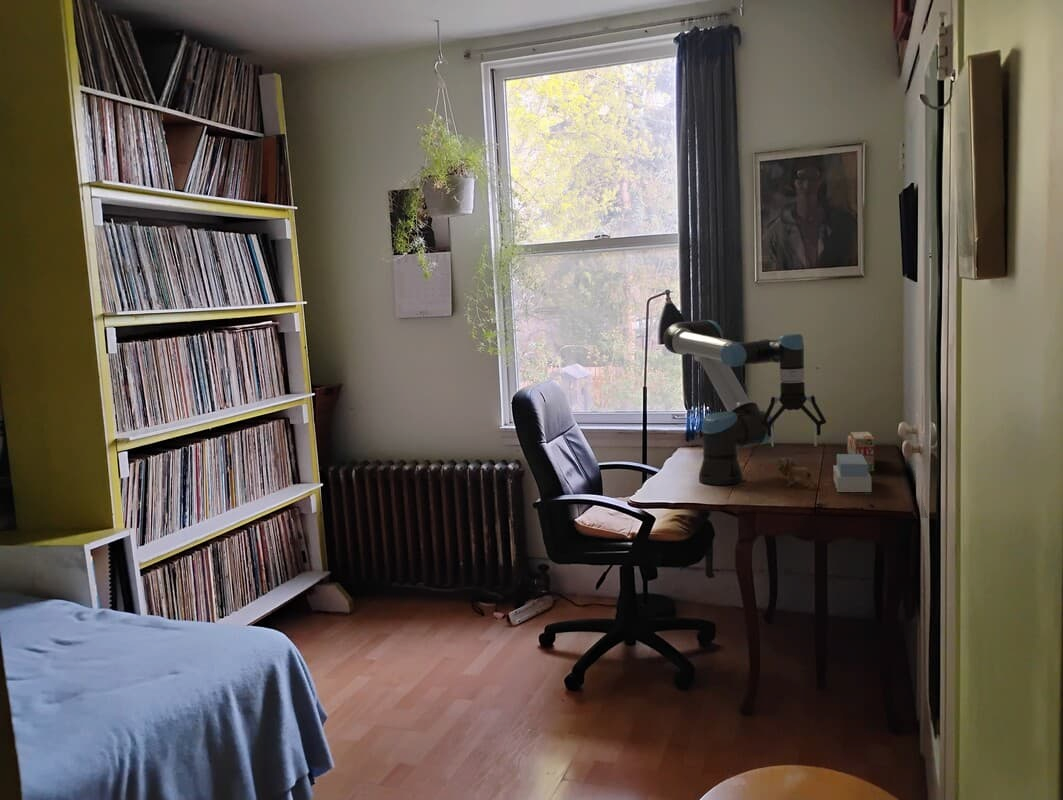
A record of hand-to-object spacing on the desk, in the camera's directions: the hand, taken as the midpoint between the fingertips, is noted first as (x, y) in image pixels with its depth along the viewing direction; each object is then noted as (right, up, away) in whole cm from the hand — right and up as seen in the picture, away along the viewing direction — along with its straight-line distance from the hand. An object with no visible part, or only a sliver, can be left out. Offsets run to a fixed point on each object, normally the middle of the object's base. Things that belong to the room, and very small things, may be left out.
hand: (794, 445), depth 278 cm
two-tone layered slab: (+18, -13, -3) cm, 22 cm away
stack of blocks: (+32, -9, +25) cm, 42 cm away
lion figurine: (+1, -14, +2) cm, 14 cm away
